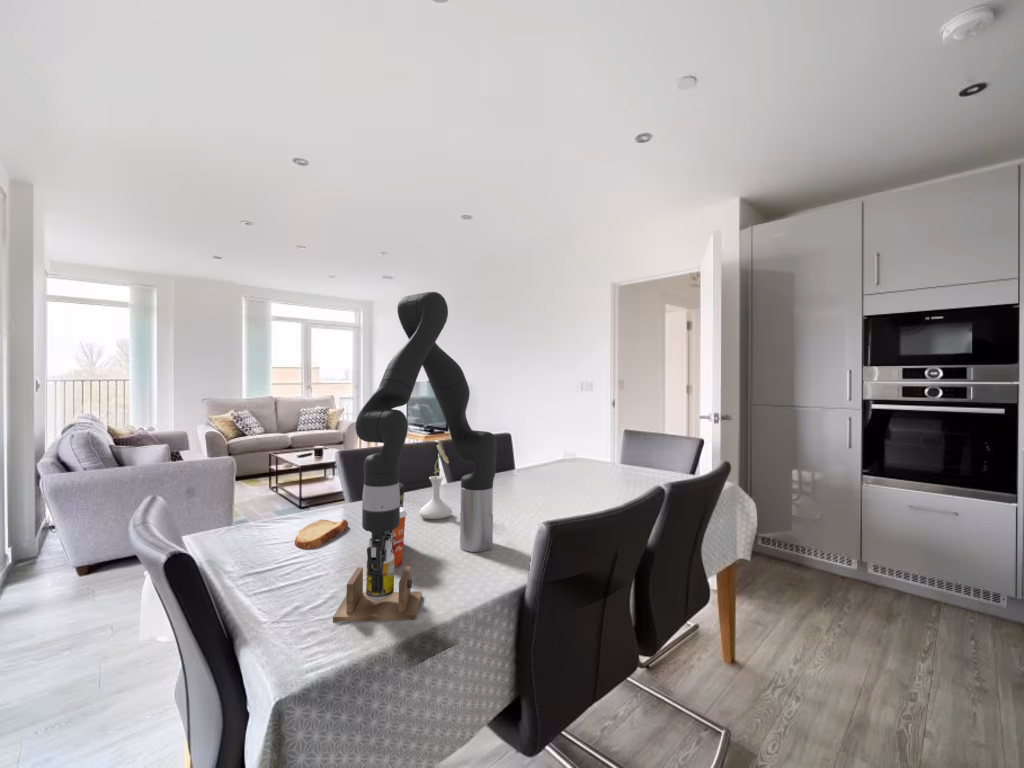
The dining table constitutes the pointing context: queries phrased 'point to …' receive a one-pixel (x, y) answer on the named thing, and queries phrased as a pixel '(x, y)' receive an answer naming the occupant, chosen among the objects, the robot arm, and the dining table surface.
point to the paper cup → (399, 539)
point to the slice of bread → (319, 533)
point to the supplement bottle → (387, 579)
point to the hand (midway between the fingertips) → (380, 584)
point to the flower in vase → (436, 496)
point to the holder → (378, 602)
